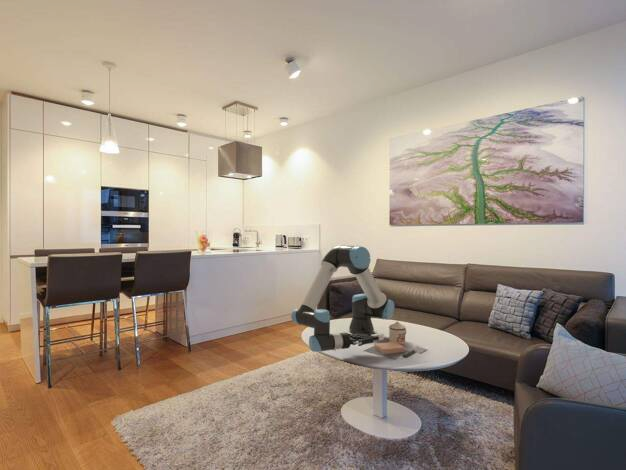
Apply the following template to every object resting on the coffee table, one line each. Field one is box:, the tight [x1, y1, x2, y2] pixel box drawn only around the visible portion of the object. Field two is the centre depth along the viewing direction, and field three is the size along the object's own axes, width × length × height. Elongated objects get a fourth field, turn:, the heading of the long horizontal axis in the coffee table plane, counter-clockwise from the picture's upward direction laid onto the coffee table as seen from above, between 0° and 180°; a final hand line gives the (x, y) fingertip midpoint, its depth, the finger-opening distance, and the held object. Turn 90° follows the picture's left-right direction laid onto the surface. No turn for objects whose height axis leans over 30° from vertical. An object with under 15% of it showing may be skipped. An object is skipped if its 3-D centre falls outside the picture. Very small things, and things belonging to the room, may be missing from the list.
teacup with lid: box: [388, 321, 407, 345], centre depth 195 cm, size 12×9×12 cm
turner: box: [402, 346, 428, 359], centre depth 177 cm, size 20×6×2 cm, turn 138°
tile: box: [374, 342, 405, 355], centre depth 179 cm, size 3×9×12 cm
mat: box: [363, 345, 410, 360], centre depth 179 cm, size 18×16×1 cm
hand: (382, 336), depth 178 cm, fingers closed
